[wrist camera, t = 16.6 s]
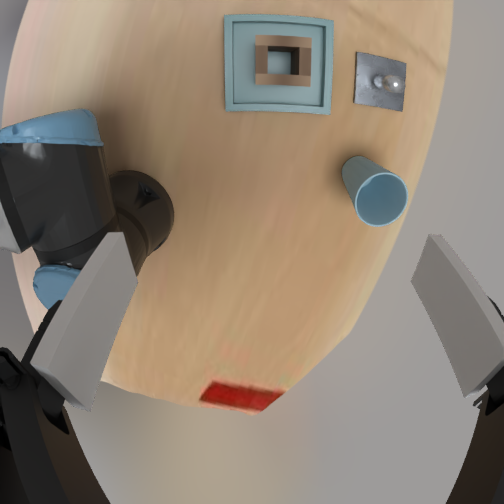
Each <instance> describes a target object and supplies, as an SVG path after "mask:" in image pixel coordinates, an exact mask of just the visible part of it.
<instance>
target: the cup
mask: <svg viewBox="0 0 504 504" xmlns="http://www.w3.org/2000/svg"><path fill="white" fill-rule="evenodd" d="M342 178H343V181H344V183H345V186H346V188H347V191H348V193H349V195H350V198H351V200H352V203H353V205H354V208H355V210H356V213H357V215H358V217H359V218H360V219H361V220H362V221H363V222H364V223H366V224H368V225H370V226H375V227H380V226H385V225H388V224H390V223H392V222H394V221H395V220H396V219H398V218H399V217H400V215H401V214H402V213H403V211H404V210H405V207H406V205H407V201H408V190H407V187H406V185H405V183H404V181H403V180H402V179H401V178H400V177H399V176H397V175H396V174H394V173H392V172H390V171H389V170H387V169H385V168H383V167H381V166H380V165H378V164H376V163H374V162H373V161H371V160H369V159H367V158H365V157H363V156H355V157H352V158H350V159H349V160H347V161H346V163H345V164H344V166H343V168H342Z"/></svg>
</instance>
